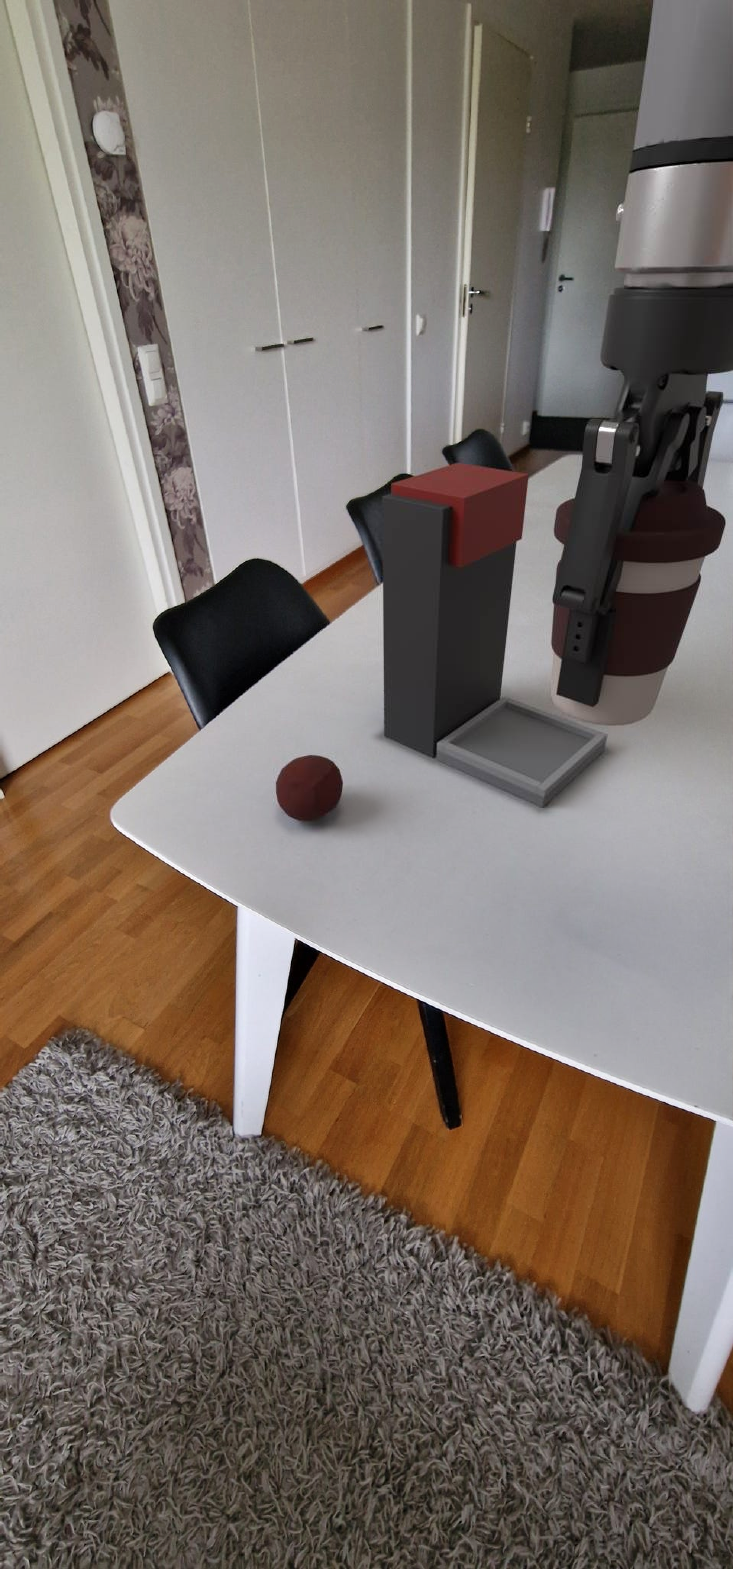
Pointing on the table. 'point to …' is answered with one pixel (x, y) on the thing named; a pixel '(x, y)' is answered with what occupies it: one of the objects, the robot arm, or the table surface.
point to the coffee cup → (644, 600)
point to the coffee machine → (465, 634)
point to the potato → (309, 787)
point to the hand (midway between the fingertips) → (607, 673)
